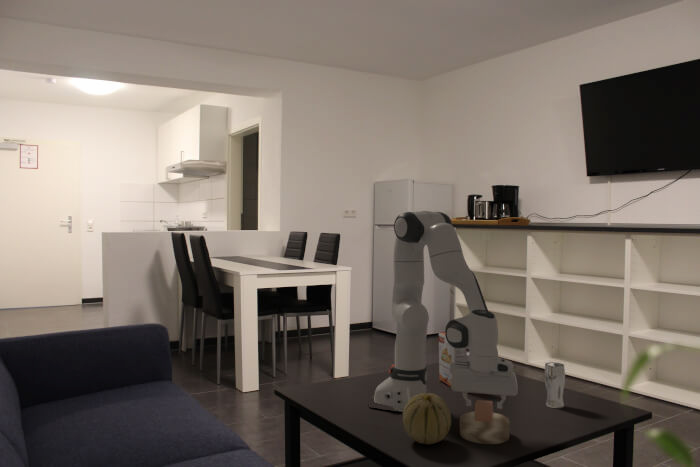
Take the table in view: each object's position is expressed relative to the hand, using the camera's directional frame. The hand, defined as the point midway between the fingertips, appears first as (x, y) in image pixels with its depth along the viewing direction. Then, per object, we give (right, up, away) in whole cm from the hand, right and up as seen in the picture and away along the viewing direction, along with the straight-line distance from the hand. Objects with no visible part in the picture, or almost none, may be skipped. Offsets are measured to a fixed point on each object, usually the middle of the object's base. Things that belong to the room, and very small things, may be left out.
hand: (484, 407), depth 173 cm
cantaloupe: (-19, -9, -6) cm, 21 cm away
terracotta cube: (0, -4, 0) cm, 4 cm away
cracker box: (+1, -9, +57) cm, 57 cm away
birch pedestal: (0, -9, 0) cm, 9 cm away
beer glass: (+32, -9, +28) cm, 44 cm away
